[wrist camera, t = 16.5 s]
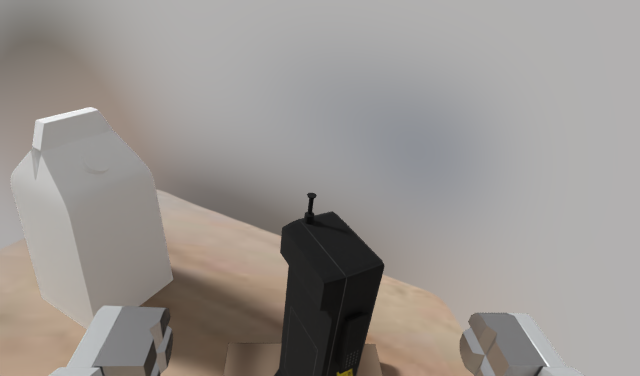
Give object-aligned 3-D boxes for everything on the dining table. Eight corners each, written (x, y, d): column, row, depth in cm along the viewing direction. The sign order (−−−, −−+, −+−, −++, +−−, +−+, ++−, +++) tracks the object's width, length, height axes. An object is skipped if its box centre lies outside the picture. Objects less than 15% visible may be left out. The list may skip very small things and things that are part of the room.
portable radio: (355, 437, 36) (418, 239, 24) (302, 470, 33) (340, 265, 21) (317, 370, 42) (351, 181, 29) (268, 393, 39) (282, 195, 26)
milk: (120, 250, 59) (87, 91, 46) (173, 279, 55) (153, 114, 42) (41, 298, 50) (-29, 115, 37) (98, 337, 46) (42, 147, 33)
